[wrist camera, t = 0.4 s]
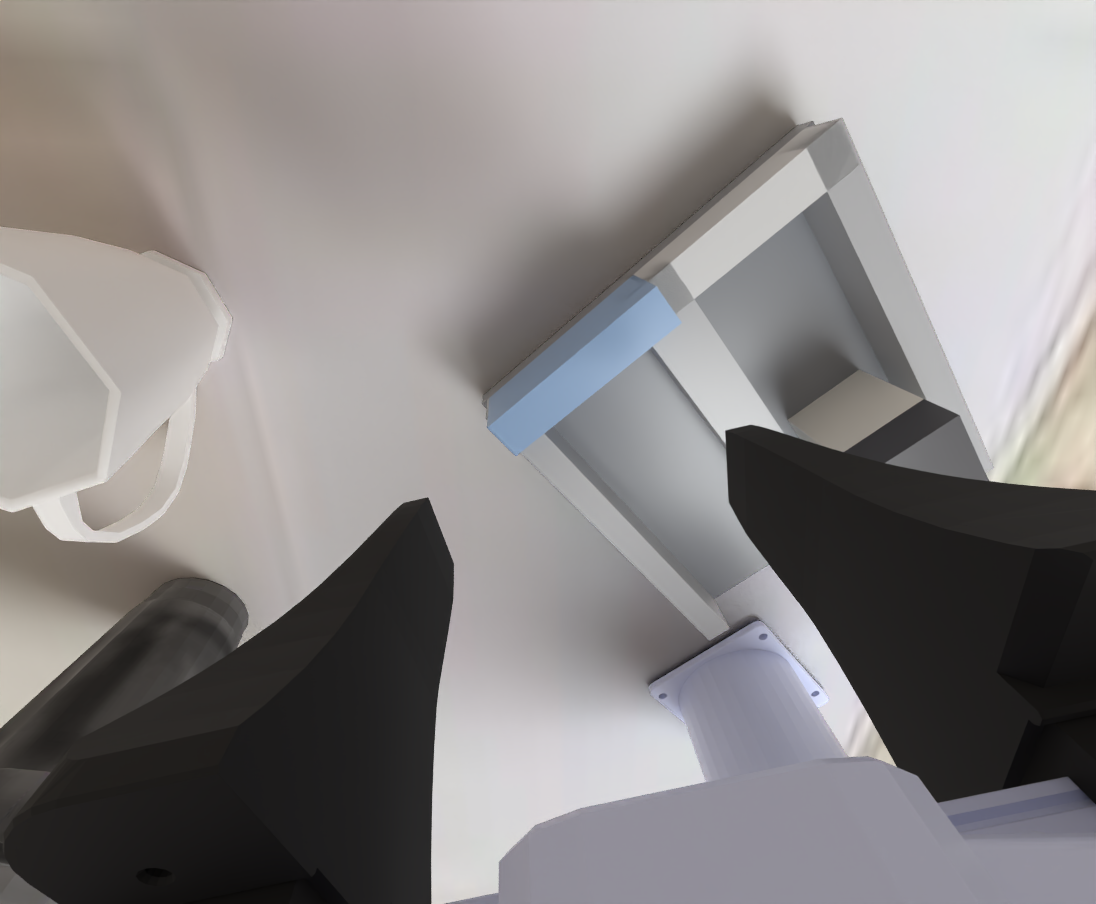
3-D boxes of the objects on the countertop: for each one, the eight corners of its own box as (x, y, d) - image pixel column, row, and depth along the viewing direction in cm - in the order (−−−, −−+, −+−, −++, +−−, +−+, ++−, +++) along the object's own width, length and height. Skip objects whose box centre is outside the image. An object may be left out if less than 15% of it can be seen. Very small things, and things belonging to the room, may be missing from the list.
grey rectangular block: (888, 425, 22) (989, 481, 17) (820, 470, 22) (899, 535, 18) (859, 369, 20) (959, 415, 16) (787, 419, 21) (863, 476, 17)
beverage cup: (293, 583, 24) (-312, 1661, 6) (259, 677, 27) (-235, 1620, 9) (129, 534, 22) (-1455, 1912, 4) (110, 641, 25) (-909, 1758, 7)
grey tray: (943, 434, 23) (1023, 475, 20) (684, 600, 27) (712, 660, 23) (796, 125, 17) (874, 103, 13) (482, 395, 20) (478, 435, 17)
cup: (253, 219, 17) (66, 227, 10) (293, 470, 21) (184, 603, 14) (29, 197, 16) (-356, 188, 9) (118, 462, 20) (-91, 600, 13)
